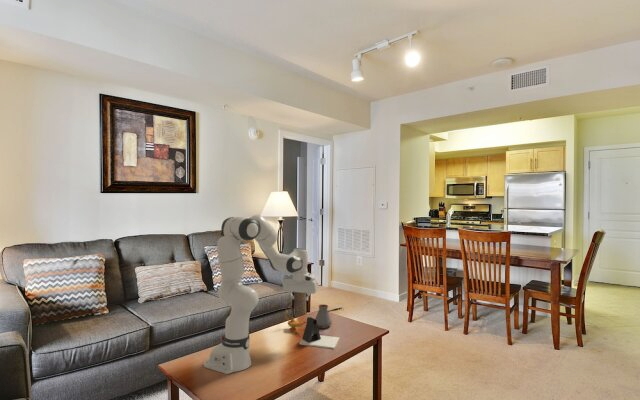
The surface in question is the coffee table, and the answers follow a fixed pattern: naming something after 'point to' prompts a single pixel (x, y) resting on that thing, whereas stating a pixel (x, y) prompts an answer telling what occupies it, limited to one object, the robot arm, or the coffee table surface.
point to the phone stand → (311, 331)
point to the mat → (323, 342)
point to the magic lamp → (293, 323)
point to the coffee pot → (324, 316)
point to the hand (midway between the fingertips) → (299, 299)
